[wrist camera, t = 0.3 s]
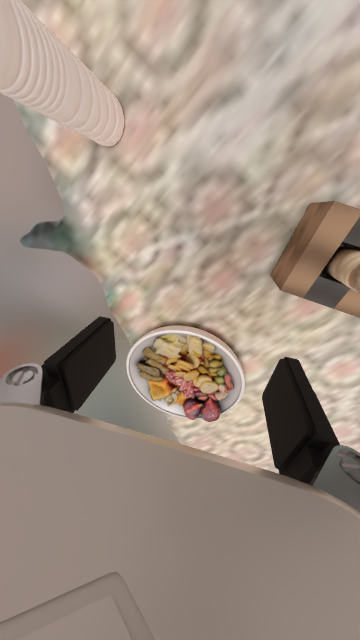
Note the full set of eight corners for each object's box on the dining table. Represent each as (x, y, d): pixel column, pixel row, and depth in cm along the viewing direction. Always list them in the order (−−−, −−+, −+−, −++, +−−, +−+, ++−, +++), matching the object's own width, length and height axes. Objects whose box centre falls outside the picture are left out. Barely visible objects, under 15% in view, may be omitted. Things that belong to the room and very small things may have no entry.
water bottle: (131, 139, 31) (-85, -18, 10) (97, 153, 33) (-146, 47, 11) (110, 59, 27) (-324, -499, 6) (73, 80, 29) (-357, -283, 8)
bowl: (114, 353, 56) (98, 373, 49) (191, 295, 42) (184, 311, 35) (181, 415, 63) (176, 439, 57) (267, 382, 49) (273, 409, 43)
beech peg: (333, 242, 27) (367, 253, 21) (361, 252, 27) (404, 265, 20) (315, 269, 29) (341, 286, 23) (341, 278, 29) (374, 298, 23)
